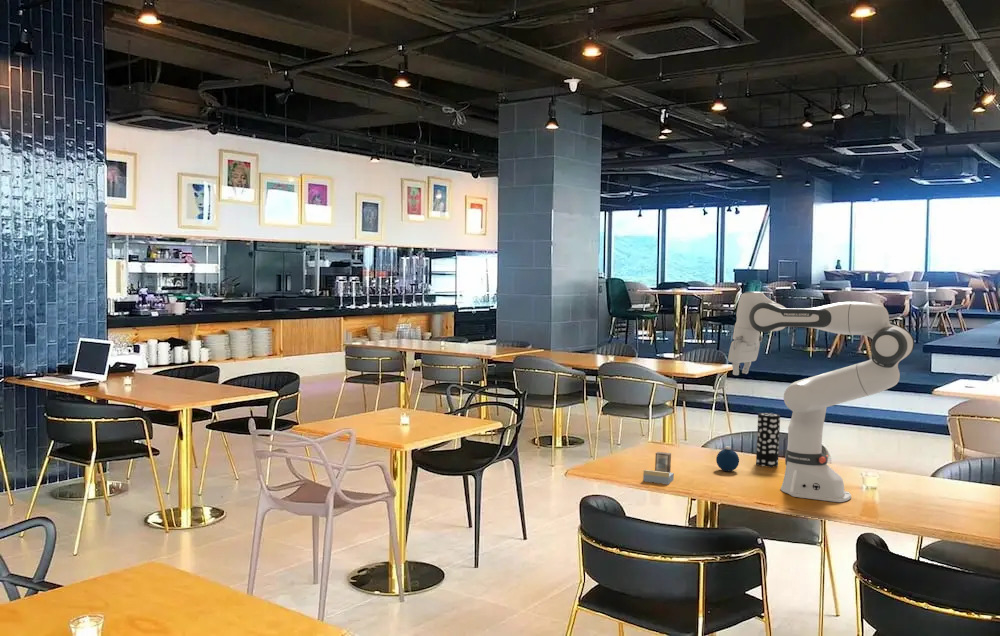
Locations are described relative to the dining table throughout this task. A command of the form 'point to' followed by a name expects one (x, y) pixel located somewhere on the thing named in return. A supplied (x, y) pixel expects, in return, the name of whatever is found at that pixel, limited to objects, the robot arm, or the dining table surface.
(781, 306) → the robot arm
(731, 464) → the christmas ornament
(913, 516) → the dining table surface
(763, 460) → the spotted tube
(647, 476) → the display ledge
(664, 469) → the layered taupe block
